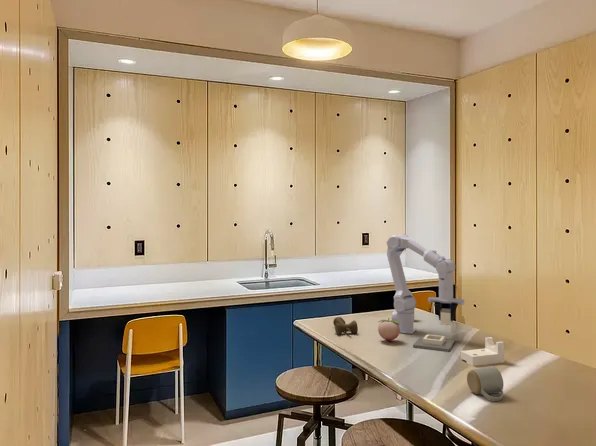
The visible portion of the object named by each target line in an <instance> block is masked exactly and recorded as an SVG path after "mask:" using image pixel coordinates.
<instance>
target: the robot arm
mask: <svg viewBox="0 0 596 446" xmlns="http://www.w3.org/2000/svg"><path fill="white" fill-rule="evenodd" d="M386 246H387V250H386V251H387V252H386V256H387V261H388V264H389V269H390V272H391V273H390V274H391V276H392V281H393V284H394V289H395V294H394V296H393V308H394V309H395V310H394V311H392V314H391V320H394V321H397V322H398V323H399V324H400V325H399V324H398V325H399V327H400V333H399V334H408V335H412V334H414V332H416V330H417V329H416V328H415V327H414V324H415V323H414V322H415V321H414V322H413V311H414V312H415V309H416V307H417V300H416V298H415V297H414V295H413V292H411V291H410V290H409V287H408V283H407V279H406V275H405V272H404V268H403V264H402V260H401V255H402V253H403V252H404V251H406V250H407V249H409V250H411V251H413V252H415V253H416V254H418V255H420V256H421V257H422V258H423V261H424V262H426V263H427V264H428V265H430V266H432V267H433V268H434V269H435V270H436V272H437V274H438V297H433V296H431V297H430V296H429V297H428V298H427V303H433V306H434V308H435V310H436V312H437V315H438V319H439V320H438V321H441V313H440V310H441V309H442V308H443V307H442V306H443V305H442V304H450V309H451V321H452V322H453V321H454V316H455V312H456V311H457V308H458V306H459V305H461V306H464V305H465V299H464V298H463V299H461V298H454V272H455V271H456V270H455V269H456V263H455V262H454V261H453V260H452V259H450V258H446V257H445V256H442V255H440V253H437V251H436V250H435V249H429V250H428V249H427V248H426V247H424V246H422V245H421V244H420V243H419V242H417V241H416V240H414V239H413V237H411V236H409V235H407V234H406V233H405V234H397V235H395V234H394V235H391V236H389V238H388V239H387V241H386Z"/></svg>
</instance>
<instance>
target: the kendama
mask: <svg viewBox="0 0 596 446" xmlns="http://www.w3.org/2000/svg"><path fill="white" fill-rule="evenodd" d="M333 325H334V331H335V334H336V335H337V336H340V335H341V334H343V333H347V332H350V333H352V334H354V333H355V334H356V335H357V334H358V332H359V331H358V327H359V326H358V323H357V321H356V320H352V321H351V322H349V323H346V321H345V319H343V317H341V316H337V317H334V318H333Z"/></svg>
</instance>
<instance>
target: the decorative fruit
mask: <svg viewBox="0 0 596 446" xmlns="http://www.w3.org/2000/svg"><path fill="white" fill-rule="evenodd" d="M378 323H379V324H378V326H377V327H378V328H377V331H378V334H379V337H380V338H381V339H383V340H385V341H387V342H392V341H394V340H395V339H397V338H398V337H399V336H400V334H401V333H400V327H399V325H400V324H399V323H398V322H397V321H394V320H392V319H391V320H390V318H389V317H388V319H380V320H379V321H378ZM398 324H399V325H398Z"/></svg>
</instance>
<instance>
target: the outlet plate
mask: <svg viewBox="0 0 596 446" xmlns="http://www.w3.org/2000/svg"><path fill="white" fill-rule="evenodd" d="M455 343H456V340H455V339H449V338H446V336H445V335H437V334H426V335H425V336H424V335H423V336H421V335H420V337H418V338H417V340H416V341H415V342H414V343H413V344H412V348H415V349H422V350H423V349H424V350H431V351H432V350H433V351H441V352H448V353H449V352H450V351H451V349H452V348H453V346H454V344H455Z"/></svg>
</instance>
